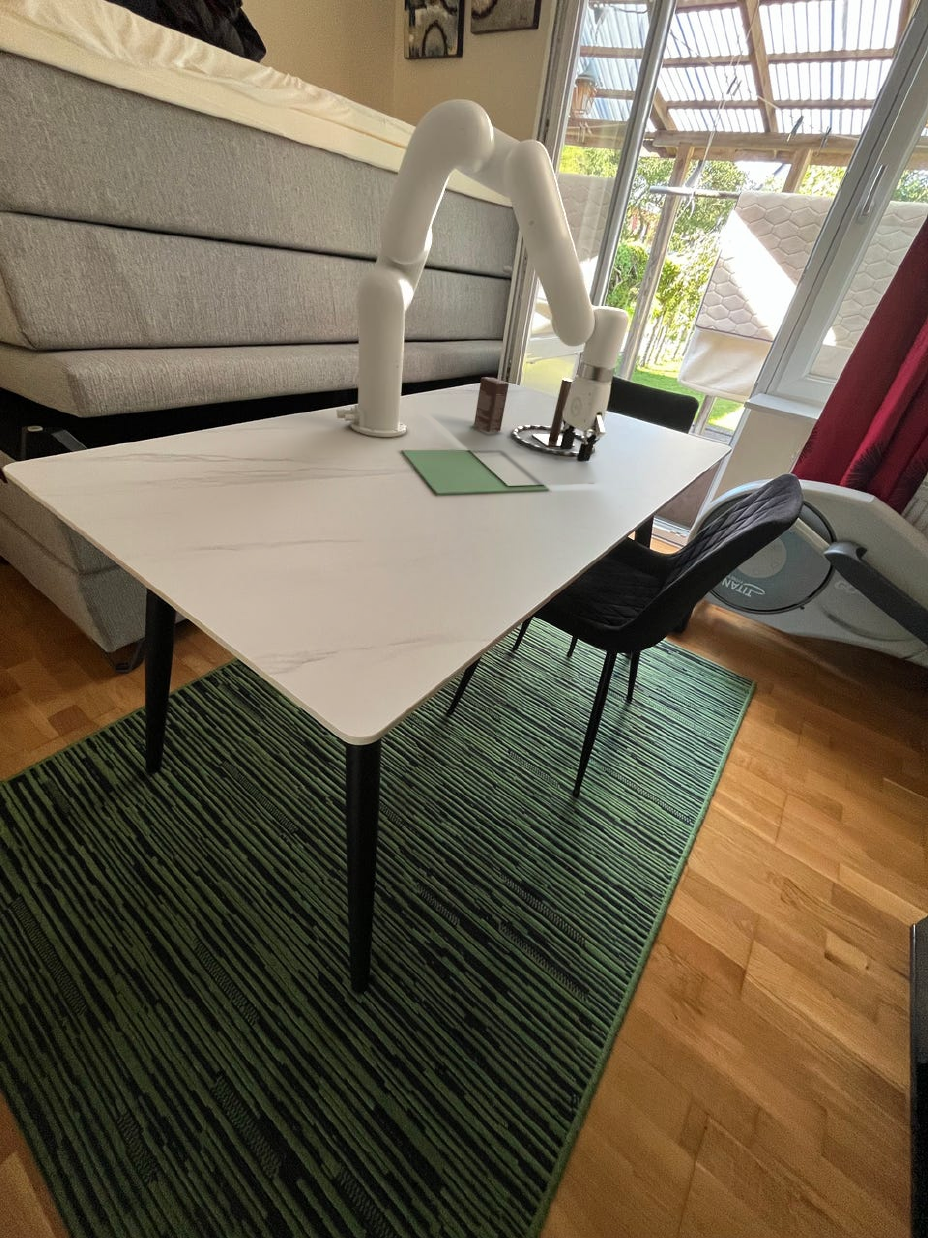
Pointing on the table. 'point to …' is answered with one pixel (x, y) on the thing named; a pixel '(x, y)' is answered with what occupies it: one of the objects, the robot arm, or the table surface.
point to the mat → (460, 473)
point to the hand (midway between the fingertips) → (574, 454)
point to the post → (556, 418)
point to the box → (491, 404)
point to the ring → (540, 449)
